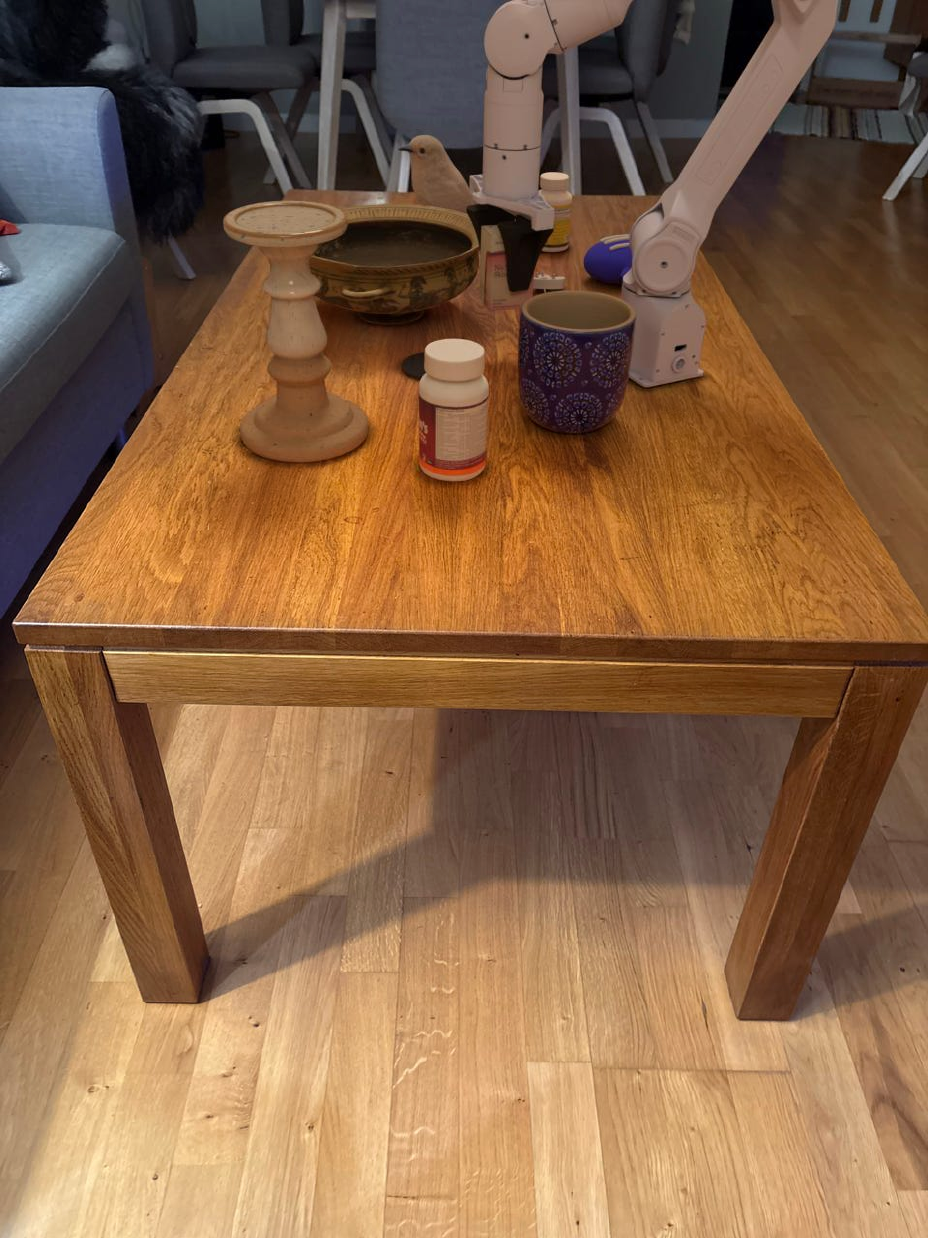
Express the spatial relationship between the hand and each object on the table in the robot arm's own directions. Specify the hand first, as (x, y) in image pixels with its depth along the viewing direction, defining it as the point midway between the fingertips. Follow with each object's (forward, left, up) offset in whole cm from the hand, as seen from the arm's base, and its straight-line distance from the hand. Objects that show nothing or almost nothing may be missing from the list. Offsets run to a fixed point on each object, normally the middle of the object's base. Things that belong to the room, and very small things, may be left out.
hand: (506, 281), depth 105 cm
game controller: (+14, -13, -9) cm, 21 cm away
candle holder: (-9, +27, -9) cm, 29 cm away
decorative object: (+15, -26, -9) cm, 32 cm away
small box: (0, 0, -3) cm, 3 cm away
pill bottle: (-21, +17, -9) cm, 28 cm away
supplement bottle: (+32, -25, -9) cm, 42 cm away
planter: (-17, +2, -9) cm, 19 cm away
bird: (+38, -11, -9) cm, 41 cm away
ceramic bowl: (+17, +7, -9) cm, 21 cm away
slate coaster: (0, +9, -8) cm, 12 cm away
